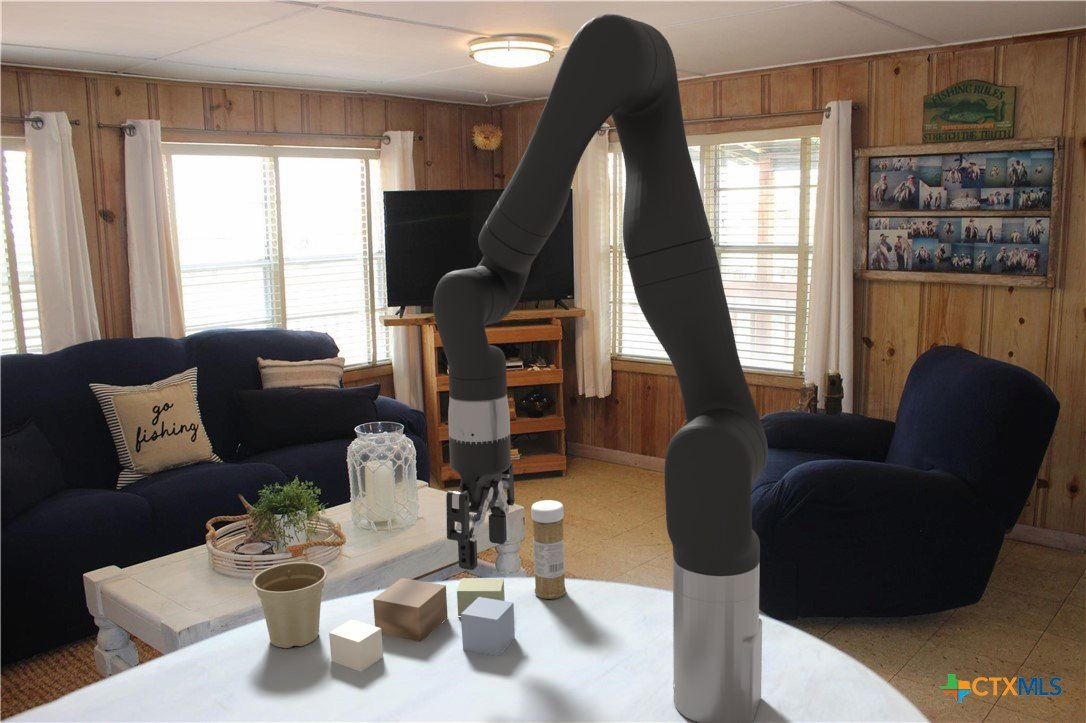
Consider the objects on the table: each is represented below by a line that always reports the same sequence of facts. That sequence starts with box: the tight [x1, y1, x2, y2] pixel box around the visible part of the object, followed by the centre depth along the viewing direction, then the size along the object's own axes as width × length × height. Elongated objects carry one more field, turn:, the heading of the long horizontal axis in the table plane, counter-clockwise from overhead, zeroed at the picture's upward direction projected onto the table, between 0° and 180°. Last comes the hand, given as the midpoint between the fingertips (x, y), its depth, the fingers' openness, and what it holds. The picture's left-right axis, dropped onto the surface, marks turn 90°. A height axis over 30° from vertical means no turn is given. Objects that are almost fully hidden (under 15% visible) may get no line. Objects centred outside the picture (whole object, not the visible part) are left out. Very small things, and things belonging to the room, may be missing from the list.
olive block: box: [456, 577, 506, 617], centre depth 124 cm, size 6×4×4 cm, turn 87°
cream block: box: [328, 618, 384, 672], centre depth 112 cm, size 5×4×4 cm
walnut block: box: [372, 577, 449, 643], centre depth 120 cm, size 7×7×5 cm
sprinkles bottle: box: [530, 499, 567, 600], centre depth 128 cm, size 5×5×13 cm
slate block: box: [460, 597, 516, 657], centre depth 115 cm, size 5×5×5 cm
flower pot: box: [252, 561, 328, 649], centre depth 118 cm, size 9×9×9 cm
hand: (483, 554), depth 113 cm, fingers open, 8 cm apart
